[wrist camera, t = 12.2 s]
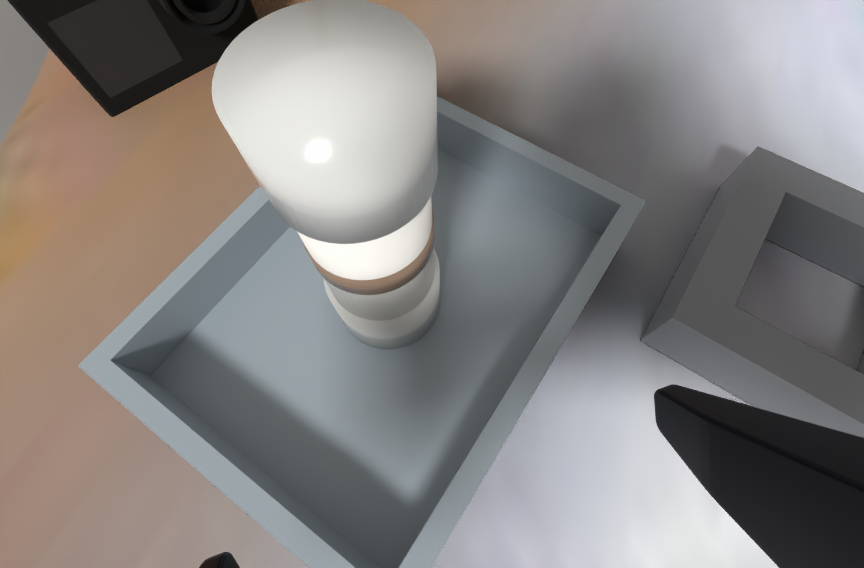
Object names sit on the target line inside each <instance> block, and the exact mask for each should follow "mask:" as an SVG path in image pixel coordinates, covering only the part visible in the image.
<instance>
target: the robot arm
mask: <svg viewBox="0 0 864 568" xmlns="http://www.w3.org/2000/svg"><path fill="white" fill-rule="evenodd" d="M654 402H655V415H656V423H657V426H658V428H659V430H660V432H661V433H662V434H663V436H664V437H665V438H666V439H667V441H668V442H669V443H670V445H671V446H672V447H673V448H674V450H675V451H676V452H677V453H678V455H679V456H680V457H681V459H682V460H683V461H684V462H685V464H686V465H687V466H688V467H689V469H690V470H691V471H692V473H693V474H694V475H695V476H696V478H697V479H698V480H699V481H700V483H701V484H702V485H703V486H704V488H705V489H706V490H707V491H708V492H709V494H710V495H711V496H712V497H713V498H714V499H715V500H716V501H717V502H718V504H719V505H720V506H721V507H722V508H723V509H724V510H725V511H726V512H727V513H728V514H729V515H730V516H731V517H732V518H733V519H734V520H735V522H736V523H737V524H738V525H739V526H740V527H741V528H742V529H743V530H744V531H745V532H746V533H747V534H748V535H749V536H750V537H751V538H752V539H753V540H754V542H755V543H756V544H757V545H758V546H759V547H760V548H761V549H762V550H763V551H764V552H765V553H766V554H767V555H768V556H769V557H770V558H771V559H772V561H773V562H774V563H775V564H776V565H777V566H778V567H779V568H864V438H863V437H860V436H856V435H853V434H849V433H845V432H842V431H838V430H835V429H831V428H828V427H824V426H821V425H817V424H813V423H810V422H806V421H803V420H799V419H796V418H792V417H789V416H785V415H782V414H778V413H774V412H771V411H767V410H764V409H760V408H757V407H753V406H750V405H746V404H742V403H739V402H735V401H732V400H728V399H725V398H721V397H718V396H714V395H710V394H707V393H703V392H700V391H696V390H693V389H689V388H686V387H682V386H678V385H669V386H666V387H663V388H661V389H658V390H657V391H656V392H655V394H654ZM199 568H240V567H239V566H238V564H237V562H236V561H235V559H234V557H233V556H232V555H231V553H229V552H223V553H221V554H218V555H215V556H213V557H210V558H208V559H206V560H205V561H204V562H203V563H202V564H201V566H200V567H199Z"/></svg>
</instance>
